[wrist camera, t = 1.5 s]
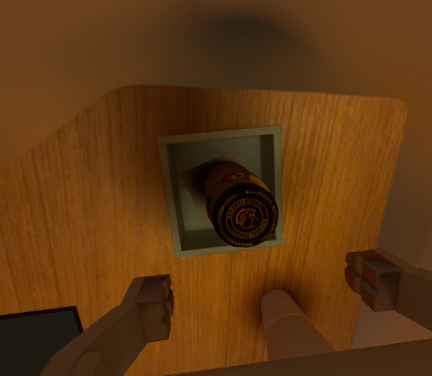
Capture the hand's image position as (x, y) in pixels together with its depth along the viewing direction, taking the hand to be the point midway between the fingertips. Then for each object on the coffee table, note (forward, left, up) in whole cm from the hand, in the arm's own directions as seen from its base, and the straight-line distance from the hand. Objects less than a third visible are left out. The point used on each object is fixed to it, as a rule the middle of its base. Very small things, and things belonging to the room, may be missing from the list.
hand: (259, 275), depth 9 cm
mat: (+25, -30, -19) cm, 43 cm away
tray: (0, 0, -19) cm, 19 cm away
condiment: (0, 0, -19) cm, 19 cm away
